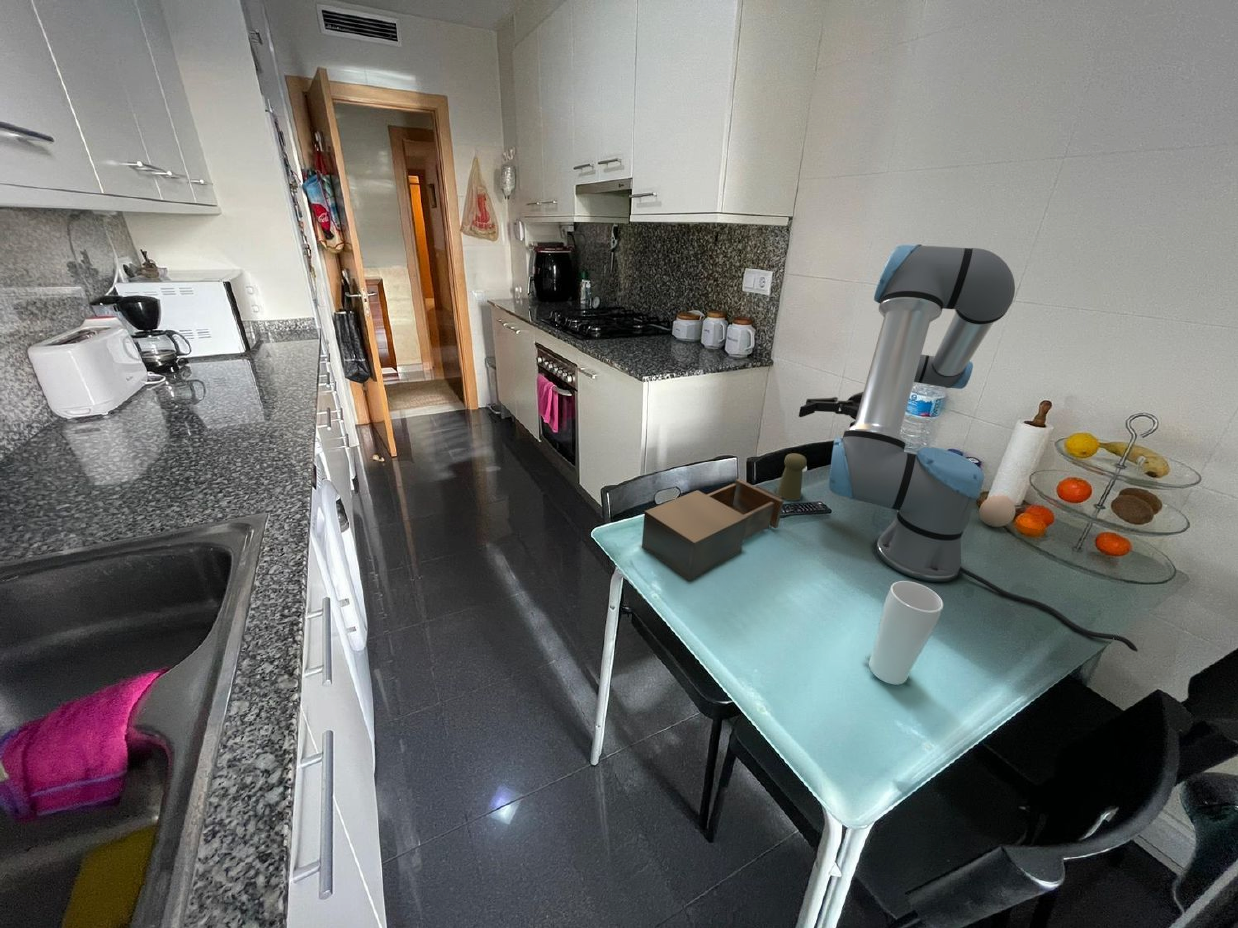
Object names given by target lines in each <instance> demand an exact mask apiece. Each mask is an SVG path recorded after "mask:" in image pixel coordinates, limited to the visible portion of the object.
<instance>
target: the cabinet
mask: <svg viewBox="0 0 1238 928" xmlns="http://www.w3.org/2000/svg"><path fill="white" fill-rule="evenodd" d="M643 513H644V515H643V525H642V539H641V547H642V548H643V549H644V550H646V551H647V552H648V553H650V554H652V556H654V557H655V558H657V559H658V560H659V561H661V562H662V563H664V564H665V565H666V566H668V567H669V568H671V569H672V570H673V571H675V572H676V573H678V574H679V575H680V576H682V577H683V578H684V579H686V580H688V581H689V582H690V581H692V580H694V579H695V578H696V579H697V577H699V576H701V575H703V574H705V573H706V572H708V571H710V570H712V569H714V568H715V567H718V566H719V565H721V564H722V563H724V562H727V561H728V560H730V559H732V558H734V557H735V556H737V555H739V554H741V553H742V551H743V546H744V541H743V540H744V535H745V530H746V524H747V519H748V517H747V516H745V515H743V514H741V513H739V512H737V511H736V510H734V509H732V508H730V507H728V506H726V505H724V504H723V503H721V502H719V501H717V500H715V499H713V498H711V497H710V496H708V495H707V494H706V493H704V492H702V491H700V490H699V489H697V490H694V491H692V492H689V493H686V494H685V495H682V496H679V497H677V498H673V499H672V500H669V501H667V502H663V503H662V504H659V505H657V506H654V507H652V508H649V509H647V510H644V512H643Z"/></svg>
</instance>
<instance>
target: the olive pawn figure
mask: <svg viewBox="0 0 1238 928" xmlns="http://www.w3.org/2000/svg"><path fill="white" fill-rule="evenodd" d="M807 461H808V460H807V457H805V456H804V455H802V454H800V453H796V452H795V453H794V452H793V453H792V452H791V453H789V454H787V455H786V456H784V461H783V462H784V463H783V464H784V466H785V467H784V470H783V471H782V475H781V478H780V480H779V483H778V486H777V488H776V492H775V494H777V495H779V496H781V497H783V498H784V499H783V500H784V501H791V502H795V501H799V500H800V499H801V497H802V496H801V495H802V483H803V471H804V470H805V468H806V467H807Z"/></svg>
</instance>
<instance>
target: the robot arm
mask: <svg viewBox="0 0 1238 928" xmlns="http://www.w3.org/2000/svg"><path fill="white" fill-rule="evenodd" d="M1015 294H1016V285H1015V279H1014V275H1013V272H1012V270H1011V269H1010V267H1009V265H1008V264H1007V263H1006V262H1005V261H1004V260H1003V258H1001V257H1000V256H999V255H997V254H996V253H994V252H992V251H990V250H987V249H984V248H978V247H971V248H970V247H956V246H936V245H922V244H921V243H918V244H901V245H898V246H896V247H895V248H894V249H893V250H892V251H891V253H890V254H889V256H888V259H887V260H886V262H885V265H884V266H883V269H882V272H881V275H880V278H879V281H878V283H877V286H876V289H875V292H874V296H873V301H874V302H876V303H877V304H879V305H878V312H879V314H880V315H881V316H882V317H883V318H882V319H883V320H882V323H881V327H880V331H879V335H878V338H877V342H876V345H875V349H874V352H873V355H872V360H871V363H870V366H869V371H868V374H867V377H866V381H865V385H864V389H863V391H860V392H857V393H854V394H853V395H850V397H849V398H847V400H838V399H839V397H837V396H833V397H823V398H806V401H805V404H804V405H802V406H800V407H799V411H798V412H799V413H798V418H804V417H807V416H809V415H811V414H812V415H813V414H815V413H816V412H825V413H835V414H836V415H844V416H849V417H850V418H851V419H853V420H854V421H852V422H850V423H849V427H848V428H846V429H844V432H843V435H842V437H836V438H834V440H833V447H832V452H831V461H830V469H829V477H828V488H829V490H830V492H832V494H835V495H838V496H841V497H845V498H847V499H849V500H855V501H859V502H863V503H868V504H872V505H875V506H880V507H883V508H888V509H891V510H895V511H897V510H898V512H897V513H896V516H895V518H894V519H893V521H891V523H890V524H889V525H888V526H887V528H886V529H885V530H884V531H883V532H882V533H881V535H880V536H879V537H878V540H877V543H876V547H875V551H876V555H878V557H879V558H880V560H882V562H884V563H885V564H886V565H887V566H889V567H890V568H892V569H893V570H895V571H897V572H899V573H901V574H902V575H905V576H908V577H910V578H913V579H917V580H920V581H925V582H930V583H947V582H951V581H954V580H955V579H956V578H957V577H958V575H959V574H960V573H962V574H964V575H966V576H968V577H970V578H972V579H974V580H976V581H978V582H979V583H981V584H983V585H985V586H986V587H988V588H989V589H992V590H993V591H995V592H997V593H998V594H1000V595H1003V596H1005V597H1008V598H1010V599H1013V600H1015V601H1019V602H1023V603H1027V604H1031V605H1033V606H1036V607H1039V608H1041V609H1044V610H1045V611H1047V612H1049V613H1050V614H1052V615H1054V616H1055V617H1057V619H1059V620H1061V621H1062V622H1063V623H1064V624H1066V625H1067V626H1069V627H1070V628H1072V629H1073V630H1075V631H1077V632H1079V633H1081V634H1083V635H1086V636H1089V637H1092V638H1097V639H1104V640H1113V641H1117V642H1121V643H1123V644H1124V645H1126V646H1127V648H1129V650H1132V651H1134V652H1139V651H1138V648H1137V646H1136V645H1135V644H1134V643H1133V642H1132V641H1131V640H1130V639H1128V638H1126V637H1124V636H1122V635H1117V634H1112V633H1105V632H1096V631H1092V630H1089V629H1086V628H1084V627H1082V626H1080V625H1077V624H1076V623H1074V622H1073V621H1072V620H1070V619H1069V618H1068V617H1066V616H1065V615H1064V614H1062V613H1061V612H1060V611H1058V610H1056V608H1054V607H1051V606H1049V605H1048V604H1046V603H1044V602H1042V601H1038V600H1036V599H1032V598H1028V597H1026V596H1025V597H1024V596H1021V595H1018V594H1015V593H1011V592H1009V591H1007V590H1004V589H1003V588H1000V587H999V586H997V585H996V584H993V583H992V582H990V581H988V580H987V579H985V578H983V577H981V576H979V575H977V574H975V573H973V572H971V571H969V570H967V569H965V568H963V567H962V542H961V541H962V536H963V534H964V531H965V529H966V527H967V524H968V522H969V520H970V517H971V515H972V512H973V511H974V507H975V505H976V502H977V501H978V499H979V498H980V496H981V491H982V488H983V484H984V482H985V475H984V472H983V470H982V469H981V468H980V467H979V466H978V465H977V464H976V463H974V462H973V461H972V460H970V459H969V458H966V457H965V456H963V455H960V454H958V453H955V452H953V451H951V450H948V449H943V448H939V447H936V446H935V447H934V446H932V447H929V446H924V447H921V448H919V450H918V451H916V453H911V452H907V451H905V448H906V444H907V442H906V440H905V439H904V437H903V436H902V435H901V430H902V427H903V423H904V419H905V415H906V412H907V409H908V404H909V401H910V398H911V393H912V389H913V386H914V383H918V384H924V385H928V386H929V385H930V386H935V387H942V388H946V389H956V390H962V389H964V388H966V386H967V385H968V384H969V381H970V379H971V376H972V372H973V368H974V364H973V362H971V359H972V358H973V357H974V355H975V353H976V351H977V350H978V348H979V347H980V345H981V343H982V342H983V340H984V339H985V337H986V336H987V334H988V332H989V331H990V329H991V328H992V326H993V325H994V323H996V322H998V321H999V320H1001V319H1002V318H1003V317H1004V316H1005V315H1006V313H1008V311H1009V309H1010V307H1011V306H1012V303H1013V301H1014V298H1015ZM944 309H945V310H954V312H955V313H954V315H953V317H952V319H951V320H950V323H949V326H948V327H947V328H946V332H945V334H944V336H943V338H942V339H941V343H940V344H939V346H938V349H937V351H936V353H935V354H934V355H929V354H922V353H923V350H924V346H925V342H926V338H927V335H928V331H929V328H930V325H931V323H932V322H933V321H935V320H937V319H939V318H940V316H941V315H942V312H943V310H944ZM1113 638H1114V639H1113Z"/></svg>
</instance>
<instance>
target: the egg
mask: <svg viewBox="0 0 1238 928" xmlns="http://www.w3.org/2000/svg"><path fill="white" fill-rule="evenodd" d="M978 514H979V517H980V520H981V521H982V522H983V523H984V524H986V525H987V526H989V527H994V528H1001V527H1005V526H1007V525H1009V524H1010V523H1011V522H1012V521H1013V520H1014V518H1015V516H1016V505H1015V504H1014V501H1013V500H1012V499H1011V497H1009V496H1007V495H1004V494H994V495H991V496H989V497H988V498H986V499H985V500H983V502H982V503H981V505H980V507H979V510H978Z"/></svg>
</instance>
